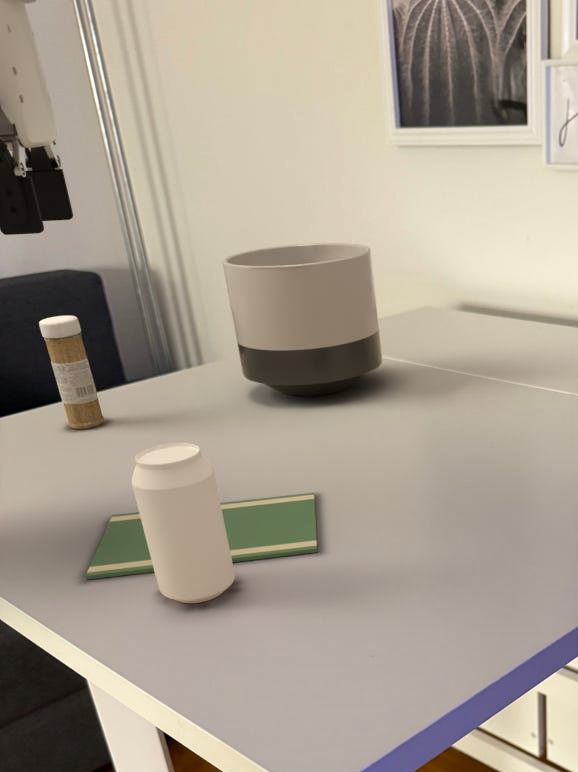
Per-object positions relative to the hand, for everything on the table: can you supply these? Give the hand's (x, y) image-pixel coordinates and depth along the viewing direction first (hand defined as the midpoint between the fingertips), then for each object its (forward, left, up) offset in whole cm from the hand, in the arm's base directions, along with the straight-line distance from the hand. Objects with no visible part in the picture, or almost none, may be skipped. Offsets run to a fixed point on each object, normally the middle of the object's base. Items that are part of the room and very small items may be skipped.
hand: (40, 226), depth 78 cm
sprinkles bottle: (-10, +36, -27) cm, 46 cm away
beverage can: (+9, -18, -27) cm, 34 cm away
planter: (+20, +43, -27) cm, 55 cm away
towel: (+9, -6, -27) cm, 29 cm away
